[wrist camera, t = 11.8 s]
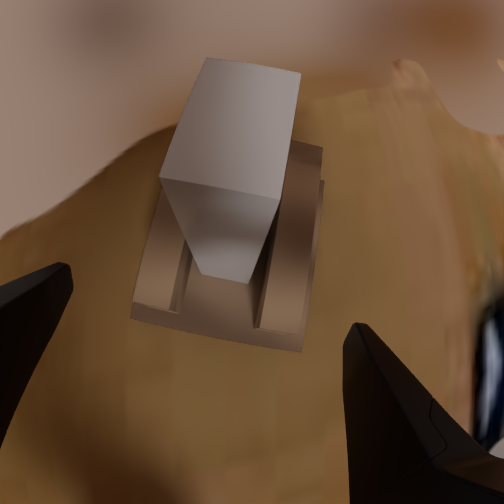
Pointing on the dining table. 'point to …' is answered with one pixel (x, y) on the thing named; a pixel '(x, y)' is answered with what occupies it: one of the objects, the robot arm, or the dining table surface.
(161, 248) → the clay rack
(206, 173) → the clay bar
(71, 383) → the dining table surface
